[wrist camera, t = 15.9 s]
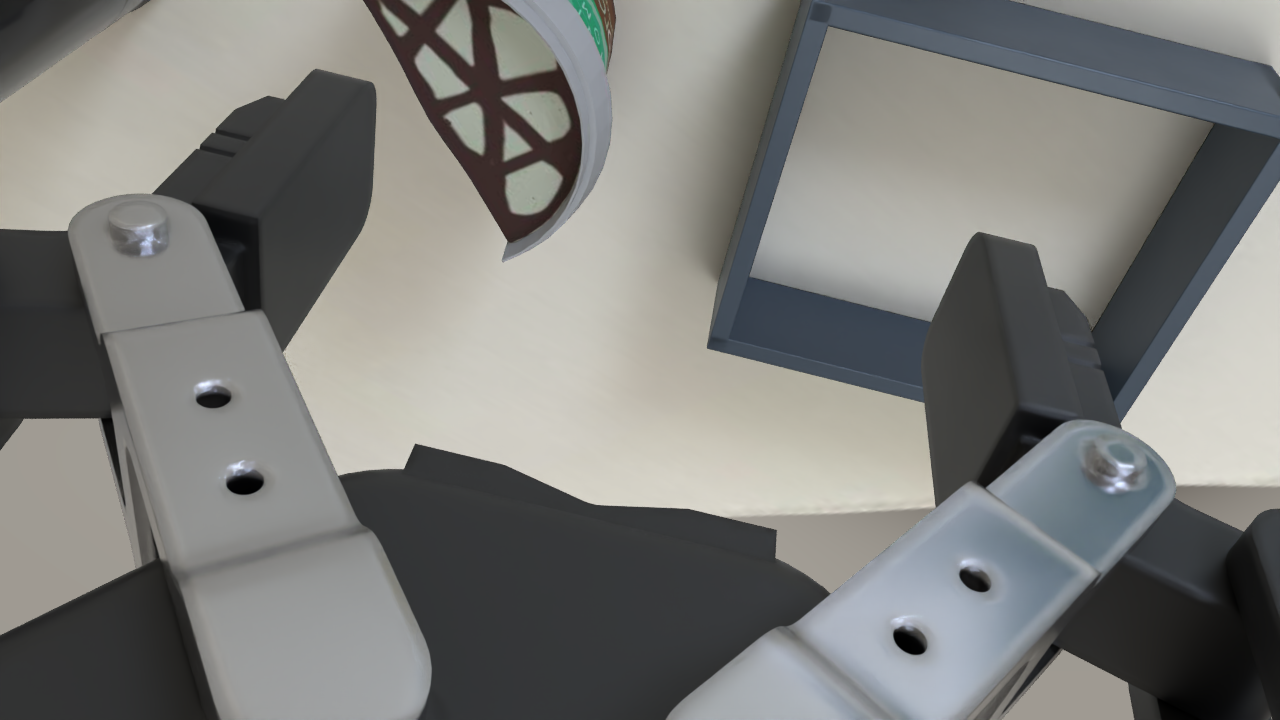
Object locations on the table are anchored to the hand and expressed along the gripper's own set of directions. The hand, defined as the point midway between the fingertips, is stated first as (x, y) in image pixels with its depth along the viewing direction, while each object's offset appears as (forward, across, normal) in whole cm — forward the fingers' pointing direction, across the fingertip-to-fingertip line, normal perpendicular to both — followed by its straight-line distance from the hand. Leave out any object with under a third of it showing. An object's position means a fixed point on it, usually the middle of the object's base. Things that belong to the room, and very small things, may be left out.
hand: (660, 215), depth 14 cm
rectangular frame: (+29, -12, +13) cm, 34 cm away
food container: (+30, +6, +9) cm, 32 cm away
